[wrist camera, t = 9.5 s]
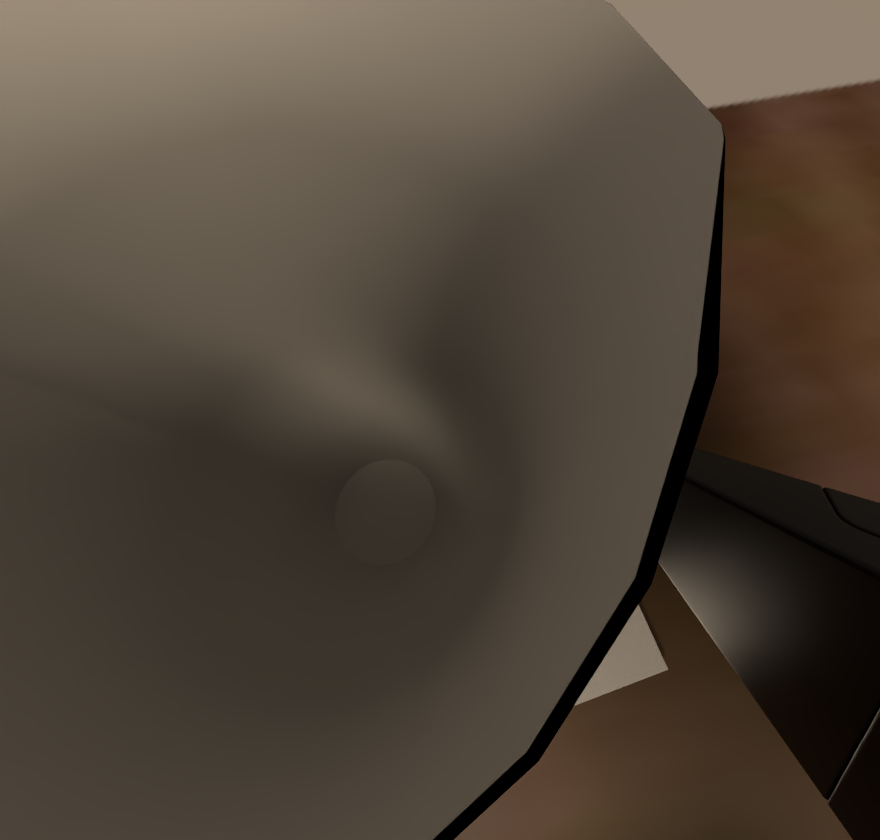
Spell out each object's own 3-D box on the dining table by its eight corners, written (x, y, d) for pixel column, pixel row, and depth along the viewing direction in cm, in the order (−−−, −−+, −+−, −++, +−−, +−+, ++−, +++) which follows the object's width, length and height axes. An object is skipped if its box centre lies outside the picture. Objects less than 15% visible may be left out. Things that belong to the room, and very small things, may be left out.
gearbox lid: (659, 664, 18) (686, 681, 15) (351, 781, 17) (334, 817, 15) (491, 292, 24) (493, 266, 21) (258, 371, 23) (236, 353, 21)
